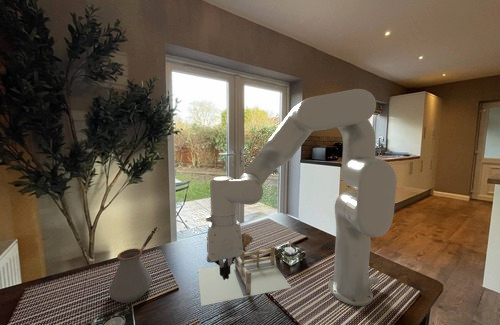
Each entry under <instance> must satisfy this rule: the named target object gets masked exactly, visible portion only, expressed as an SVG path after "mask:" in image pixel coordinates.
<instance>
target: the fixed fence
mask: <svg viewBox="0 0 500 325" xmlns="http://www.w3.org/2000/svg"><path fill="white" fill-rule="evenodd" d="M263 254H270V255H269V256H263V257H260V255H263ZM275 254H276V247H275V245H272V246H270V248H266V249H256V250H253V251H244V250H243V252H242V255H241V256H239V257H240V259H241V260H242V262H244V264H249V263H256V262H257V265H256V266H259V262H262V261H268V260H270V263H271V264H275V265H276V263H275V261H276V255H275ZM255 255H256V258H252V259H251V258H250V259H245V257H249V256H255ZM240 267H241V266H240Z"/></svg>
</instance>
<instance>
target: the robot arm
mask: <svg viewBox="0 0 500 325" xmlns="http://www.w3.org/2000/svg"><path fill="white" fill-rule="evenodd" d="M376 108H377V101H376V98H375V96H374V95H373V93H372V92H370V91H368V90H366V89H362V88H353V89H348V90H344V91H338V92H332V93H327V94H320V95H316V96H310V97H307V98H304V99H303V100H302V101H300V102H299V103H297V104H296V105H294V107H292V109H291V110H290V111H289V112H288V114H287V115H286V116H285V118H284V119H283V121H282V122H281V123H280V124H279V125H278V127H277V129H275V131H274V132H273V133H272V135H271V136H270V137H269V139H268V140H267V141H266V143H265V144H263V146H262V147H261V149H260V151H258V153H257V155H256V156H255V157H254V158H253V159H252V161H251V162H250V163H249V165H248V166H247V167H246V168H245V170H244V171H243V172H242V174H241V175H240V177H239V178H238V179H235V178H234V177H232V176H225V175H223V176H215V177H213V178H211V179H210V185H209V189H210V193H209V194H210V213H209V216H205V221H206V222H209V224H208V228H207V238H206V252H207V256H206V262H207V263H215V264H216V265H217V266H220V276H222V277H223V280H225V279H229V274H230V266H231V265H232V264H233V262H235V258H237V257H240V256H241V255H242V252H243V244H242V234H243V233H242V228H241V224H240V221H238V219H237V218H238V217H237V216H238V215H237V213H238V212H237V204H240V205H255V204H257V203H259V202H260V201H261V200H262V198H263V197H264V196H263V195H264V188H263V185H264V183H266V181H267V180H268V179H269V177H270V175H272V174H273V172H275V171H276V170H277V169H278V168H280V167H281V166H283V165H285V164H287V163H288V162H289V161H291V160H292V158H293V157H294V155H296V153H297V152H298V151H299V150H300V148H302V146H303V144H304V143H305V141H306V140H307V139H308V137H310V135H311V134H312V133H313V132H315V131H316V132H317V131H323V130H330V129H336V128H337V129H338V131H339V133H340V134H341V137H342V138H341V139H342V159H341V171H340V172H341V174H340V175H341V179H342V181H343V182H344V183H345V184H346V185H347V186H349V187H351V188H353V189H355V191H354V190H348V191H344V192H342V193H340V194H339V195H338V196H337V198H336V200H335V203H334V217H335V246H334V265H333V266H334V267H333V268H334V269H333V276H332V277H331V278H330V279H329V280H328V284H327V288H328V289H329V292H330V293H331V294H332V295H333V296H334V298H336V299H337V300H339V301H340V302H343V303H344V304H348V305H350V306H356V307H363V306H367V305H370V304H371V303H372V302H373V298H374V297H373V296H374V294H373V291H372V290H371V287H372V286H373V285H378V284H379V283H380V279H379V278H378V277H377V276H373V277H370V275H369V268H370V255H371V243H372V242H371V238H380V237H383V236H384V235H386V234H387V233H388V232H389V230H390V228H391V226H392V224H393V220H394V214H395V203H396V194H397V193H396V192H397V176H396V172H395V169H394V168H393V166H392V165H391V164H390V163H389V162H388V161H386V160H384V159H381V158H377V157H376V143H377V142H376V140H377V138H376V133H375V129H374V127H373V125H372V124H371V122H370V119H371V118H372V117H373V115H374V114H375V111H376Z"/></svg>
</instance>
